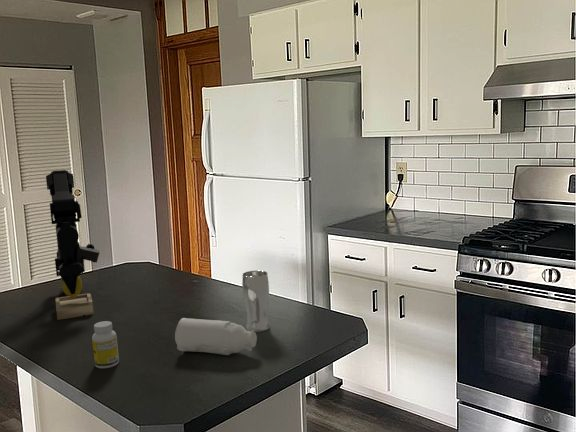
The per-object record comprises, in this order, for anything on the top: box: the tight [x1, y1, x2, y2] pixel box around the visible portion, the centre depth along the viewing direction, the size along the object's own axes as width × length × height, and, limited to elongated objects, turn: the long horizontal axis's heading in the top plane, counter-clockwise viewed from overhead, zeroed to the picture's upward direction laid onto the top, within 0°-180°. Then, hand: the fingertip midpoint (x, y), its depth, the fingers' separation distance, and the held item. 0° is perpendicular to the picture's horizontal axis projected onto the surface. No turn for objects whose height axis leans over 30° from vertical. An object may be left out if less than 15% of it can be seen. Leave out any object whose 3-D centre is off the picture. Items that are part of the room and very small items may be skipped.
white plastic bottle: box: [174, 317, 258, 356], centre depth 135 cm, size 8×19×8 cm, turn 72°
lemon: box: [61, 275, 83, 298], centre depth 170 cm, size 6×6×8 cm
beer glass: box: [241, 270, 270, 333], centre depth 150 cm, size 7×7×15 cm
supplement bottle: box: [91, 320, 120, 369], centre depth 131 cm, size 5×5×10 cm
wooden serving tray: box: [55, 292, 95, 320], centre depth 171 cm, size 10×10×4 cm
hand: (72, 291), depth 170 cm, fingers closed on lemon, 5 cm apart
